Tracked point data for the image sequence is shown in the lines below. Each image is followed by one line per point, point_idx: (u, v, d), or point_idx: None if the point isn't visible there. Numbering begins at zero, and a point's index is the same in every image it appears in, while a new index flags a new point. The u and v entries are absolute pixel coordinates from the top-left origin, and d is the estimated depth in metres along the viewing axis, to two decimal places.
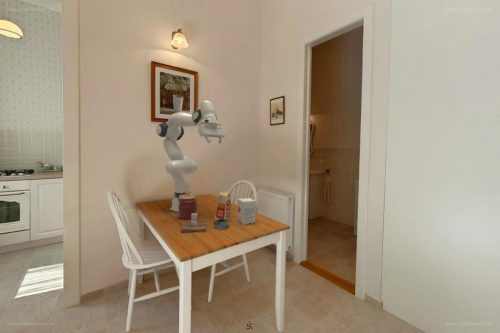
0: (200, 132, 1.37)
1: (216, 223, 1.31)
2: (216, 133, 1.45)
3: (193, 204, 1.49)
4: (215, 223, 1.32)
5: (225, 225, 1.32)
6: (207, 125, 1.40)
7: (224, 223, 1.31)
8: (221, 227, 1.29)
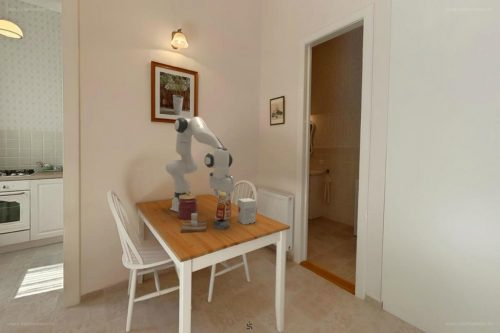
0: None
1: (216, 223, 1.31)
2: (220, 187, 1.29)
3: (193, 204, 1.49)
4: (215, 223, 1.32)
5: (225, 225, 1.32)
6: (212, 178, 1.33)
7: (224, 223, 1.31)
8: (221, 227, 1.29)
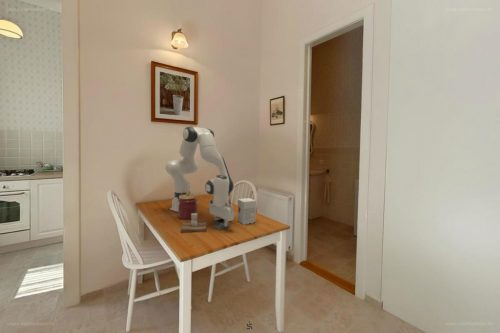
0: None
1: (216, 223, 1.31)
2: (220, 215, 1.31)
3: (193, 204, 1.49)
4: (215, 223, 1.32)
5: None
6: (212, 205, 1.34)
7: None
8: (221, 227, 1.29)
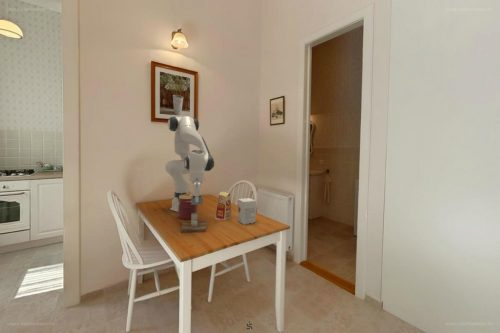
0: None
1: None
2: None
3: None
4: None
5: None
6: None
7: None
8: (192, 202, 1.27)
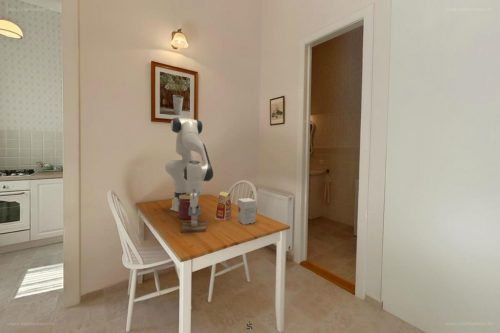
0: None
1: None
2: None
3: None
4: None
5: None
6: None
7: None
8: (190, 213, 1.27)
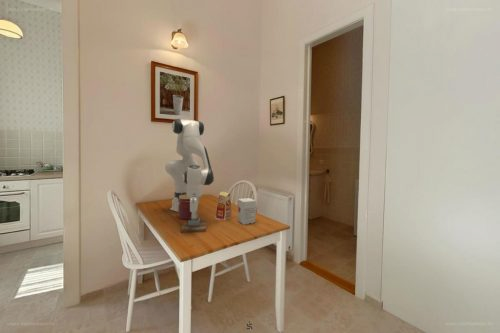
0: None
1: None
2: None
3: None
4: (189, 220, 1.32)
5: (195, 224, 1.28)
6: None
7: (193, 221, 1.28)
8: (189, 225, 1.28)
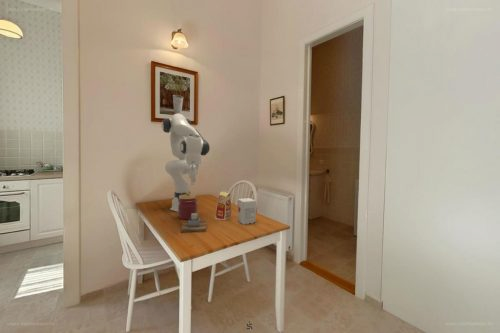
0: None
1: None
2: None
3: (193, 204, 1.49)
4: (189, 220, 1.32)
5: (195, 224, 1.28)
6: None
7: (193, 221, 1.28)
8: (189, 225, 1.28)
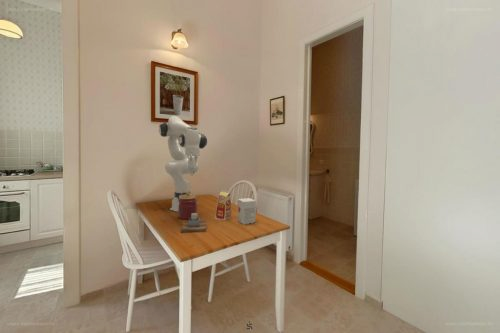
0: None
1: None
2: None
3: (193, 204, 1.49)
4: (189, 220, 1.32)
5: (195, 224, 1.28)
6: None
7: (193, 221, 1.28)
8: (189, 225, 1.28)
